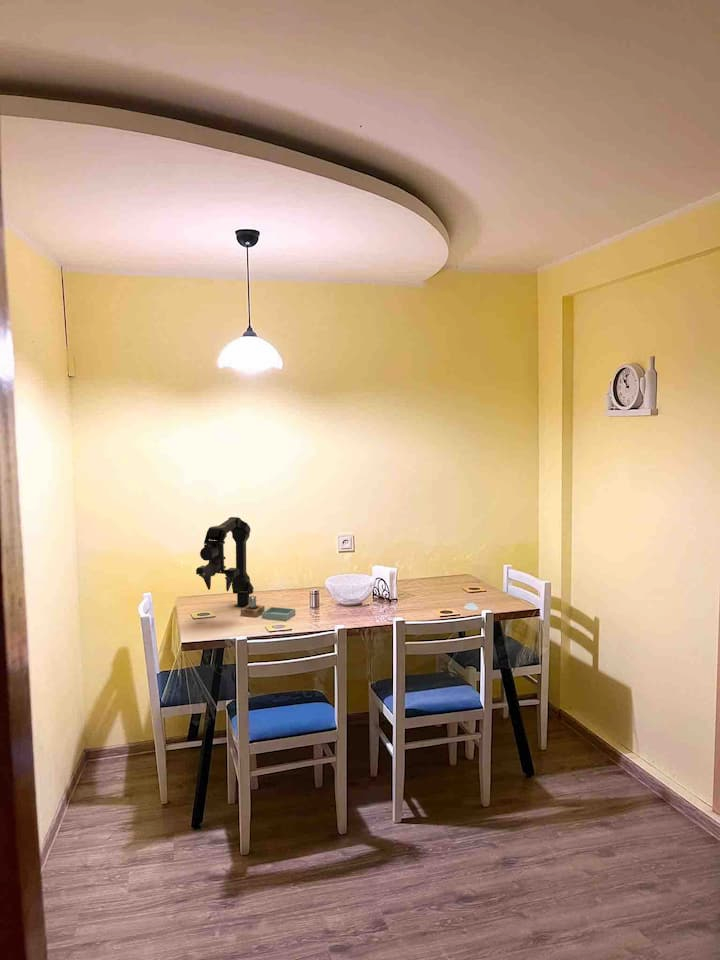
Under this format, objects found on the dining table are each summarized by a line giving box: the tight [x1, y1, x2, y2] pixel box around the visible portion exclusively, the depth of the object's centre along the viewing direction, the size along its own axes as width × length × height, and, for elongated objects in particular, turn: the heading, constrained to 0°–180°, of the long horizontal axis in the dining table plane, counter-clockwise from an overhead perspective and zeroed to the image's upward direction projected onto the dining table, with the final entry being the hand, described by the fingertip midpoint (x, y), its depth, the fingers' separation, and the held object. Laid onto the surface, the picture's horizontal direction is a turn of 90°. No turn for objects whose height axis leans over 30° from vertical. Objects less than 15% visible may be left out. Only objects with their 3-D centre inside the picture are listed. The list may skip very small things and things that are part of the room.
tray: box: [261, 606, 296, 622], centre depth 297 cm, size 10×12×3 cm
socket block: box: [240, 604, 266, 618], centre depth 301 cm, size 8×8×3 cm
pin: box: [249, 595, 257, 609], centre depth 301 cm, size 3×3×8 cm
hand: (218, 590), depth 290 cm, fingers open, 9 cm apart
